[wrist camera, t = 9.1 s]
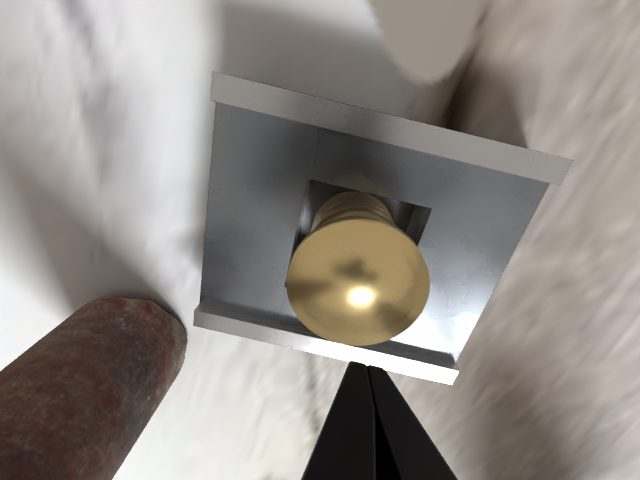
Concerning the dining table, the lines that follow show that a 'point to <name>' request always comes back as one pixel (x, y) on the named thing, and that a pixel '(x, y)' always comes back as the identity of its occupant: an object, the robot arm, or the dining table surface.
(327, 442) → the robot arm
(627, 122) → the dining table surface
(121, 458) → the candle
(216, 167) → the jig
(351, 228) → the gold flared round piece
